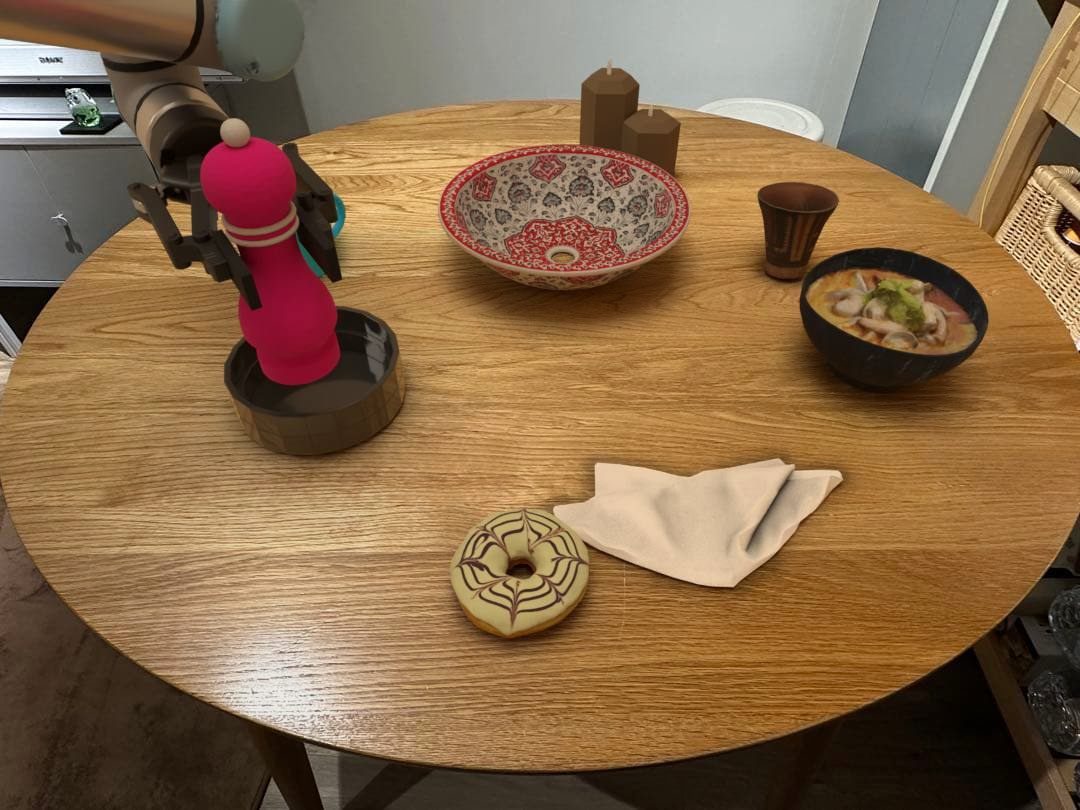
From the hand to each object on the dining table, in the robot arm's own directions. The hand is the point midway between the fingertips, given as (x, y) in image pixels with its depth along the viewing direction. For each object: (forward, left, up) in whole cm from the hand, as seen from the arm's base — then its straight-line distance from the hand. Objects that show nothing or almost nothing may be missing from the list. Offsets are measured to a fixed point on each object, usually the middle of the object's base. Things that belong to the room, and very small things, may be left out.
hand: (293, 278), depth 52 cm
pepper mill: (0, +5, -11) cm, 12 cm away
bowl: (+52, -14, -23) cm, 58 cm away
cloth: (+24, -19, -23) cm, 39 cm away
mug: (+12, +38, -23) cm, 47 cm away
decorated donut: (+7, -16, -23) cm, 29 cm away
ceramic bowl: (+37, +20, -23) cm, 48 cm away
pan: (+3, +13, -23) cm, 27 cm away
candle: (+56, +34, -23) cm, 70 cm away
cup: (+58, +4, -23) cm, 63 cm away
